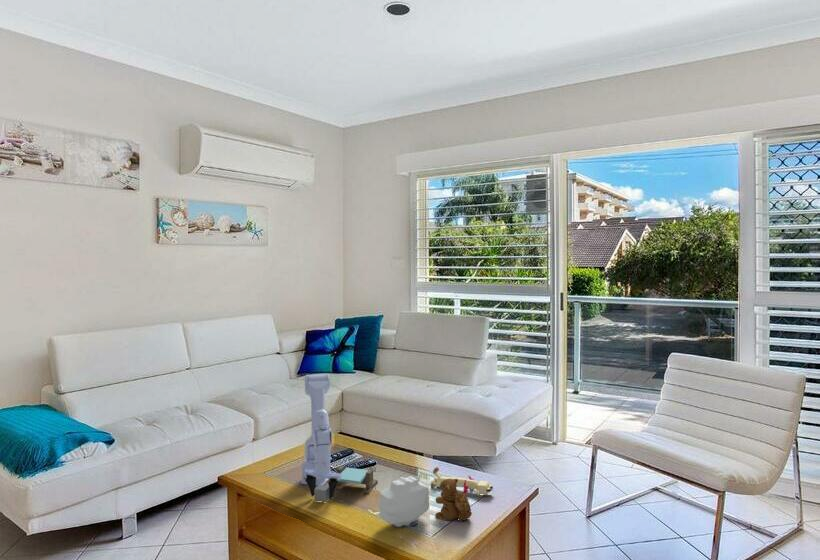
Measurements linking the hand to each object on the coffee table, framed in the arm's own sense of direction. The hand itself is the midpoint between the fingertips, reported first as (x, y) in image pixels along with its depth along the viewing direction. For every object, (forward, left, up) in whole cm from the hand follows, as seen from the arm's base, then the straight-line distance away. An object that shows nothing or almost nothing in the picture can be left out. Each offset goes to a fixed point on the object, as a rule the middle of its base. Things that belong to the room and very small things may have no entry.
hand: (322, 496), depth 196 cm
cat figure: (+50, +24, -2) cm, 55 cm away
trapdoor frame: (+8, +16, -1) cm, 18 cm away
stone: (0, 0, -2) cm, 2 cm away
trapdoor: (+8, +11, +1) cm, 14 cm away
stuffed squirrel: (+51, +2, -2) cm, 51 cm away
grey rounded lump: (+34, -7, -2) cm, 35 cm away
